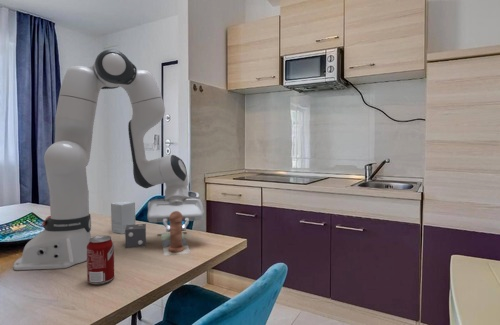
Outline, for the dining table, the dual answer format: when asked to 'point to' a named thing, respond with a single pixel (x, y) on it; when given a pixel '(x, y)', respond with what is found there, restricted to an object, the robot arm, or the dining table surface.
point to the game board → (167, 243)
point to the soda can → (100, 260)
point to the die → (135, 235)
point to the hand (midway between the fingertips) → (176, 230)
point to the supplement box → (122, 215)
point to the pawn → (176, 232)
